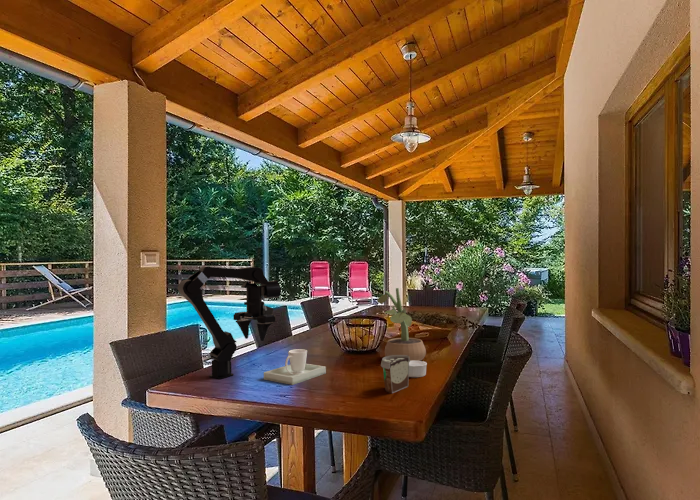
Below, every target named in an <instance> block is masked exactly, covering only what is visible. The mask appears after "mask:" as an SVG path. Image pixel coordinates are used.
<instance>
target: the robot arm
mask: <svg viewBox="0 0 700 500" xmlns="http://www.w3.org/2000/svg"><path fill="white" fill-rule="evenodd" d="M210 278H227V279H239V280H243V281H245V282H243V284H242V285H240V288H242V289H245V290H246V294H245V295H246V301H244V303H243V304H244V306H246V311H238V312H235V313H234V314H233V320H234V321H235V323H236V324H237V326H238V327H239V329H240V331H241V332H242V334H243V337H244V339H245V340H246V339H247V340H248V338H249V335H250V334H249V331H250V324H251V322H252V321H253V320H254V321H257V323H256V326H257V329H258V330H257V331H258V335H259V338H260V342H263V341H265V337H266V334H267V333H268V332H267V331H268V329H269V327H270V326H271V325H273V324H274V323H275V322H276V321H277V320H276V319H277V318H276V315H275V314H274V310H275V309H274V308H273V307H270V306H267V305H265V302H264V301H262V297H263V299H277V298H280V297H281V294H282V288H281V285H280V284H279V281H278V280H272V281H271V280H270V281H269V280H268V279H267V278H266V276H265V275H264V270H263V269H262V267H259V266H246V267H240V268H239V267H238V268H232V267H228V268H227V267H215V266H214V267H212V266H206V265H205V266H201V268H200V269H199V270H198V271H196V272H195V273H193V274H192V275H190V276H189V277H188V278H187V279H184V280H181V281H180V282H179V284H178V287H177V290H178V292H179V294H181V296H182V297H183V298H184V299H185V300H186V301H188V302H189V303H190V304H191V305H192V307H193V308H194V310H195V311H196V313H197V314H198V316H199V318H200V319H201V321H202V323H203V324H204V325H205V327H206V329H207V330H208V332H209V333H210V335H211V337H212V343H213V345H214V347H213V349H211V351H210V352H209V356H210V359H211V374H209V375H208V377H210V378H214V379H219V380H221V379H224V378H228V377H232V376H234V373H232V372H233V371H232V362H231V361H232V359H233V356H234V354H235V353H236V351H237V348H238V346H237V344H236V343H237V340H236V339H235V338H234V337H233V335H232V332H228V331H226V330H225V331H224V330H223V328H222V327H221V325H220V324H219V322H218V320H217V319H216V317H215V316H214V314H213V313H212V311H211V309H210V308H209V306H208V304H207V302H205V299H204V296H203V291H202V290H201V288H202V287H203V286H204V285H205V284H206V283H207V281H208V280H209V279H210ZM249 282H250V283H249ZM251 282H252V283H251ZM258 284H259V285H258Z"/></svg>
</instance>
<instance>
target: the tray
mask: <svg viewBox="0 0 700 500" xmlns="http://www.w3.org/2000/svg"><path fill="white" fill-rule="evenodd" d="M287 368H288V370H289V371H290V372H291V373H292V372H293V371H292V369H291V365H290V364H287ZM303 371H304V373H302V374H295V375H293V374H290V373H289V372H287V370H286V368H285V365H284V366H280V367H278V368H277V367H276V368H273V369H271V370H267V371H264V372H263V380H264V381H265V380H266V381H270V382H274V383H280V384H285V385H292V386H294V385H298V384H299V383H302V382H306V381H308V380H311V379H314V378H316V377H319V376H322V375H325V374H327V366H323V365H318V364H310V363H306V364H305V369H304V370H303Z"/></svg>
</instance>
